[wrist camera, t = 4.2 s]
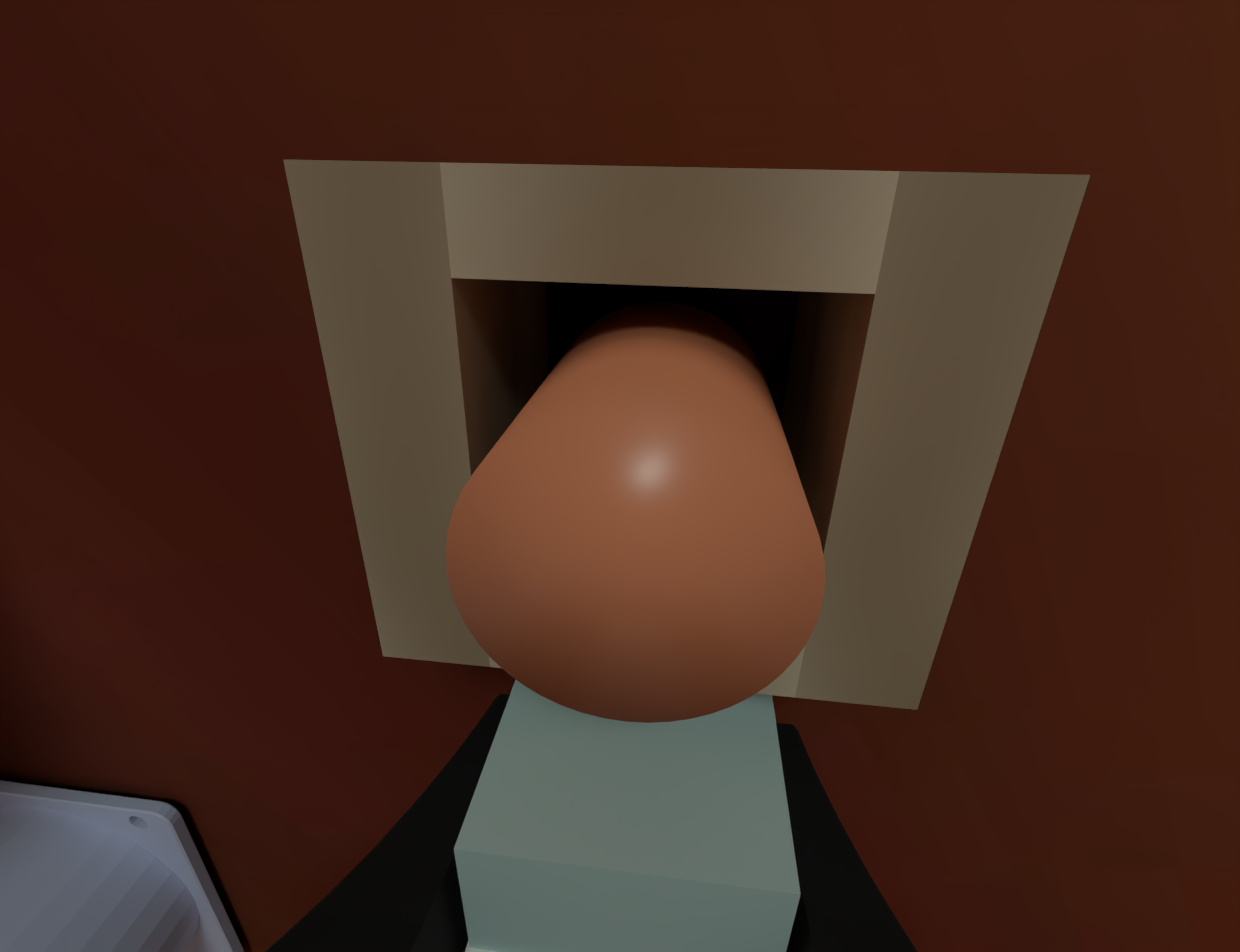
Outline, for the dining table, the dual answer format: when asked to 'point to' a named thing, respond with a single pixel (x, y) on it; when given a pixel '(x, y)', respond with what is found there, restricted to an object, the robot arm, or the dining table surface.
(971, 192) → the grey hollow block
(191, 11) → the dining table surface
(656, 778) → the block
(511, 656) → the button
